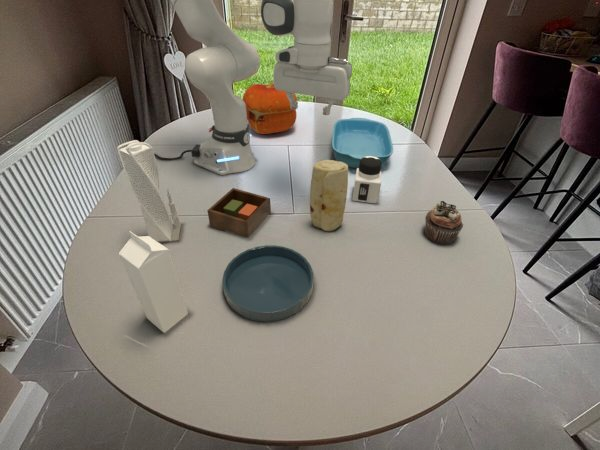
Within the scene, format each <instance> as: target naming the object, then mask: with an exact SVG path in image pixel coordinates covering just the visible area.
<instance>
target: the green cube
mask: <svg viewBox="0 0 600 450" xmlns="http://www.w3.org/2000/svg"><path fill="white" fill-rule="evenodd" d="M242 208H243V202H240V201H237V200H231V201H230V202H229V203H228V204H227V205H226V206H225V207H224V208H223V209H224V214H227V215H231V216H234V217H237V218H239V216H238V212H239V211H240V210H241V209H242Z"/></svg>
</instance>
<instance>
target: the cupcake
mask: <svg viewBox="0 0 600 450" xmlns="http://www.w3.org/2000/svg"><path fill="white" fill-rule="evenodd" d="M462 219H463V218H462V215H461V213H460V211H459V209H458V208H457V206H456V205H455V204H451V203H450V204H449V203H447V202H446V201H445V200H440V201H437V202H436V204H435V206H434V207H432V209H430V210H429V211H428V212H427V213H426V215H425V229H424V234H425V236H426V238H427V239H429V240H430V241H432V242H433V243H437V244H440V245H448V244H451V243H452V242H454V241H455V240H456V238H457V236H458V235H459V234H460V233H461V231H462V229H463V228H464V222H463V220H462Z"/></svg>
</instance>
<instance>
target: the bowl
mask: <svg viewBox="0 0 600 450" xmlns="http://www.w3.org/2000/svg"><path fill="white" fill-rule="evenodd" d="M314 278H315V277H314V270H313V268H312V265H311V264H310V262H309V261H308V259H307V258H306V257H305V256H303V255H302V254H301V253H300V252H298V251H296V250H295V249H292V248H289V247H287V246H281V245H268V244H267V245H266V244H265V245H260V246H259V245H258V246H254V247H252V248H249V249H246V250H244V251H242V252H240V253H239V254H237V255H236V256H234V257H233V258H232V260H231V261H230V262H229V263H228V264H227V266H226V267H225V269H224V271H223V275H222V280H221V281H222V289H223V294H224V298H225V300H226V302H227V304H228V305H229V307H230V308H231V309H232V310H233V311H234V312H235V313H237V314H238V315H240V316H241V317H244V318H245V319H248V320H252V321H256V322H265V323H266V322H276V321H280V320H285V319H287V318H290V317H292V316H294V315H295V314H297V313H298V312H300V311H301V310H302V309H303V308H304V307H305V306H306V304H308V302H309V301H310V299H311V296H312V294H313V289H314Z"/></svg>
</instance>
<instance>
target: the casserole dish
mask: <svg viewBox="0 0 600 450" xmlns="http://www.w3.org/2000/svg"><path fill="white" fill-rule="evenodd" d="M332 127H333V128H332V137H331V147H332V151H333V155H334V158H335V161H338V162H343V163H345V164H347V165H348V168H350V169H351V168H352V169H357V168H359V164H360V160H361V159H362V158H363V157H366V156H373V157H376V158H379V159H380V160H381V162H382V166H381V168H382V167H384V166H385V165H386V164H387V163H388V161H389V159H390V157H391V156H392V155H393V153H394V146H393V140H392V137H391V133H390V129H389V126H387V125H386V124H385V123H384V122H381V121H379V120H373V119H369V118H366V117H352V118H342V119H338V120H337V121H335V122H334V124H333V126H332Z"/></svg>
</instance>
